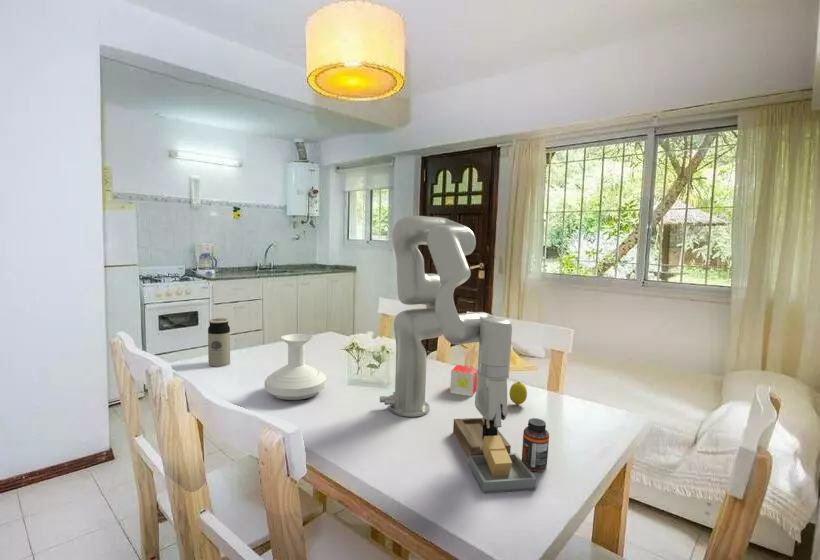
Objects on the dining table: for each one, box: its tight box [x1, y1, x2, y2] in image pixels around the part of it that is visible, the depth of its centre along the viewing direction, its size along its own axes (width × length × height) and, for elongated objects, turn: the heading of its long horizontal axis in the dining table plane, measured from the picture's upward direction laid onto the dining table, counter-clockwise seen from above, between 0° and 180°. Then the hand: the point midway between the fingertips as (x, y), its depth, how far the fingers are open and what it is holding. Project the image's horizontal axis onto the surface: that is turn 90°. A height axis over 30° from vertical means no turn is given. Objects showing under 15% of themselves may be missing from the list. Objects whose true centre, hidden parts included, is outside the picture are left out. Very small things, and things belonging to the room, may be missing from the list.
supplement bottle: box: [521, 417, 550, 473], centre depth 103 cm, size 6×6×11 cm
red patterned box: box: [449, 364, 478, 397], centre depth 151 cm, size 8×8×8 cm
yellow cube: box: [482, 435, 506, 461], centre depth 102 cm, size 4×4×4 cm
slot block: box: [452, 417, 512, 459], centre depth 112 cm, size 10×16×4 cm, turn 10°
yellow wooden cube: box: [487, 449, 512, 476], centre depth 98 cm, size 4×4×4 cm
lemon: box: [509, 381, 528, 406], centre depth 140 cm, size 6×6×8 cm
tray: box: [467, 452, 537, 494], centre depth 98 cm, size 12×11×2 cm
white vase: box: [264, 333, 327, 401], centre depth 143 cm, size 20×20×19 cm
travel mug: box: [207, 317, 231, 368], centre depth 170 cm, size 8×8×18 cm
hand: (489, 441), depth 105 cm, fingers closed
